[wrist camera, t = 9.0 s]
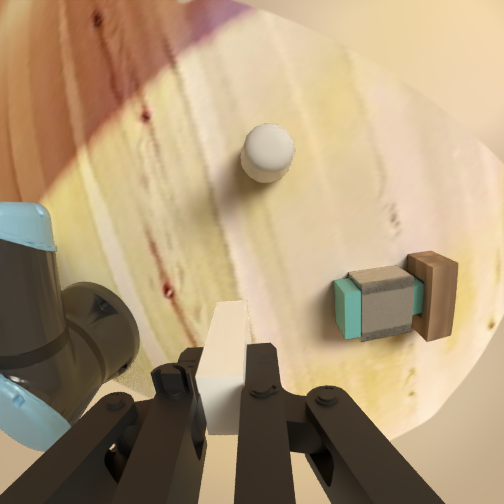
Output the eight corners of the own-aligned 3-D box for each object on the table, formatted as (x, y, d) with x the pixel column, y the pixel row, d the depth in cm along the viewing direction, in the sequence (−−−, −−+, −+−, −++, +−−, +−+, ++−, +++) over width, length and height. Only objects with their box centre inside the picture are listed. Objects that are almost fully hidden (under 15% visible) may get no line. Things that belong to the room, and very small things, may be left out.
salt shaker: (298, 152, 36) (319, 136, 24) (274, 191, 37) (284, 195, 25) (256, 127, 36) (256, 100, 23) (232, 167, 37) (220, 159, 24)
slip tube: (335, 321, 41) (345, 339, 36) (334, 280, 39) (344, 293, 34) (422, 305, 40) (439, 319, 35) (424, 266, 39) (442, 276, 34)
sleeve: (349, 323, 41) (361, 341, 36) (348, 272, 39) (361, 285, 34) (394, 314, 41) (411, 331, 35) (395, 265, 39) (414, 277, 34)
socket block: (405, 320, 41) (426, 342, 34) (407, 254, 39) (433, 267, 32) (427, 315, 41) (451, 335, 34) (431, 250, 39) (458, 263, 32)
